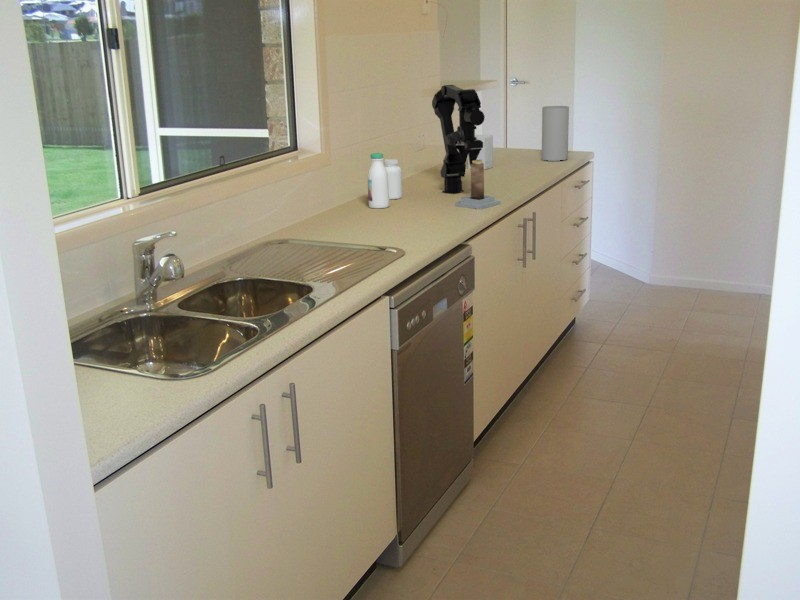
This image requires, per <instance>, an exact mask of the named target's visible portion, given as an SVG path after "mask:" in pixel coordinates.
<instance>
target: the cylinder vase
mask: <svg viewBox="0 0 800 600" xmlns="http://www.w3.org/2000/svg"><path fill="white" fill-rule="evenodd" d="M541 109H542V110H541V112H542V113H541V114H542V115H541V160H542V159H543V161H544V160H548V161H547V162H561V161H560V160H564V161H566V159H567V160H568V159H569V123H570V122H569V119H570V117H569V116H570V114H569V113H570V106H567V105H548V106H546V105H545V106H543V107H541Z"/></svg>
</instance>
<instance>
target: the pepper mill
mask: <svg viewBox="0 0 800 600" xmlns="http://www.w3.org/2000/svg"><path fill="white" fill-rule="evenodd" d="M484 195H485V170H484V164H483V163H482V160H473V161H472V164H471V169H470V196H471V199H476V200H481V199H484Z"/></svg>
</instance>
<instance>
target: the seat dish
mask: <svg viewBox="0 0 800 600" xmlns="http://www.w3.org/2000/svg"><path fill="white" fill-rule="evenodd" d="M494 205H495V206H498V205H501V200H498V199H496V197H495V196H492V195H485V194H484V199H481V200H476V199H471V195H467V196H464V197H461V198H460V201H456V202H454V206H455V207H460V206H461V207H462V208H467V207H470V208H469V209H474V208H477V209H476V210H484V209H487V207H488V208H490V207H494ZM461 207H460V208H461ZM483 208H484V209H483Z"/></svg>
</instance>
